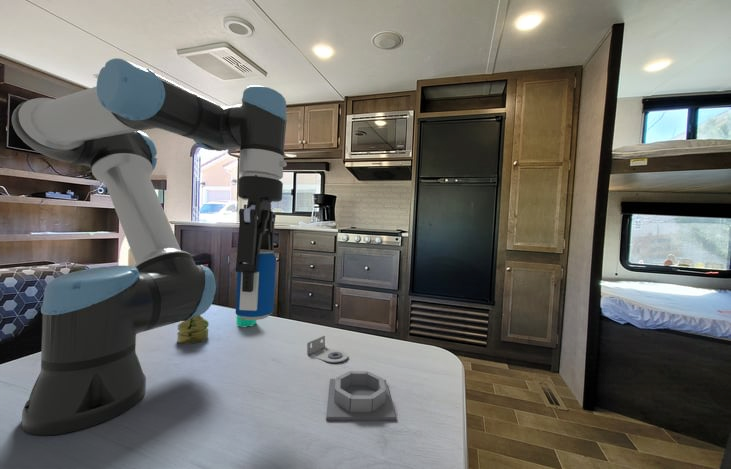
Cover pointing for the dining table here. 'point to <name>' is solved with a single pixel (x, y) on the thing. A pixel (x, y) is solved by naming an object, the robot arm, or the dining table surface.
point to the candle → (244, 322)
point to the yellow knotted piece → (193, 330)
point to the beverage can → (260, 288)
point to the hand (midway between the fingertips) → (255, 303)
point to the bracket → (328, 355)
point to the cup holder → (359, 397)
